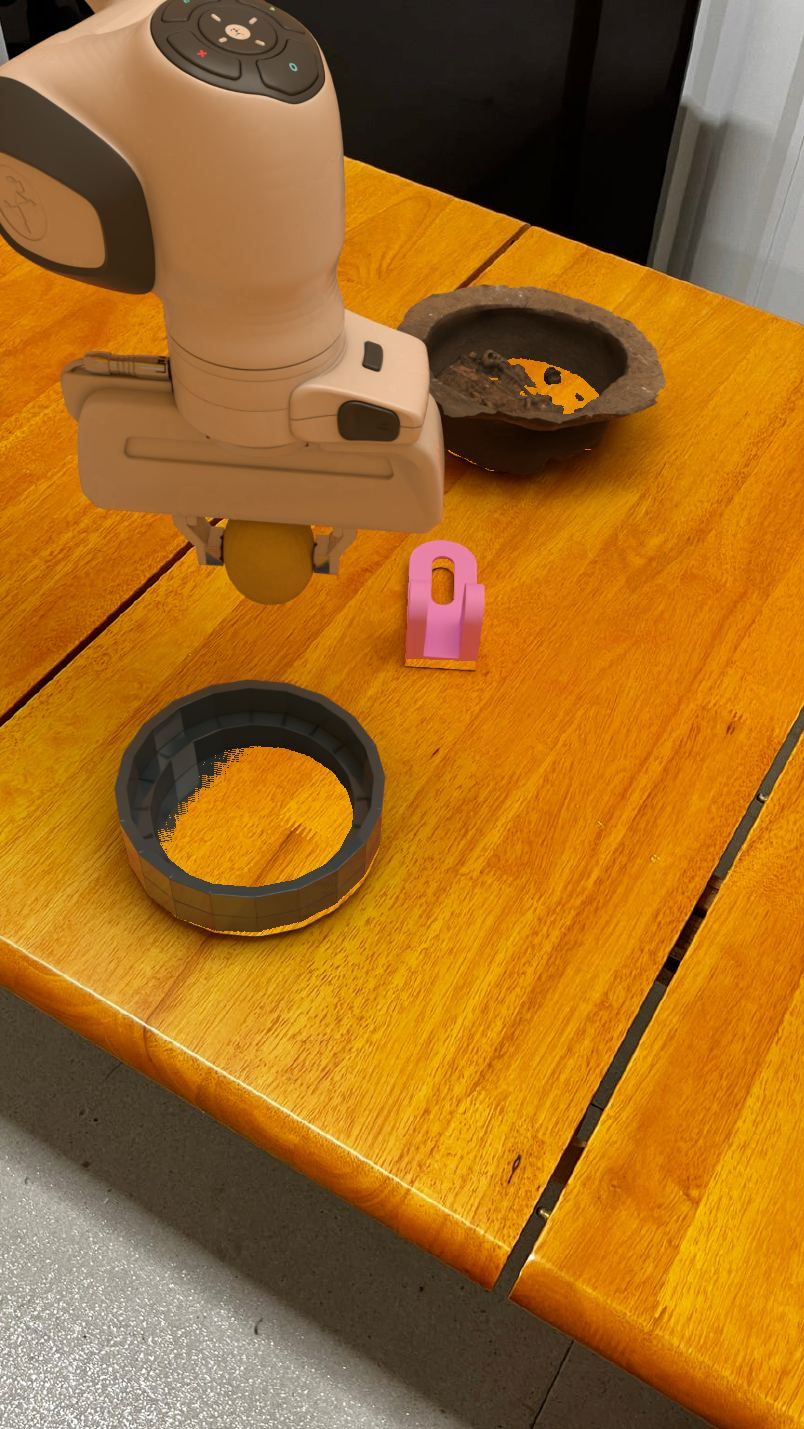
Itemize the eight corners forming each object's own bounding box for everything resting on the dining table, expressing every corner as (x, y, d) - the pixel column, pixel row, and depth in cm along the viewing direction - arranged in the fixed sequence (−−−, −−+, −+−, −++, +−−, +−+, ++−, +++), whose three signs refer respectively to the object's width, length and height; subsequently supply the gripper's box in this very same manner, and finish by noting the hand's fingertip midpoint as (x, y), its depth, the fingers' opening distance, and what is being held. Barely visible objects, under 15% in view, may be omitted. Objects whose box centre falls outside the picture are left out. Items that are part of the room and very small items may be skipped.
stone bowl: (456, 531, 105) (461, 439, 97) (350, 377, 119) (347, 286, 111) (702, 467, 112) (724, 376, 104) (574, 328, 126) (585, 240, 118)
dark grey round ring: (104, 931, 80) (89, 884, 76) (153, 722, 91) (143, 669, 86) (370, 952, 81) (373, 907, 76) (389, 742, 91) (393, 691, 86)
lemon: (311, 564, 78) (308, 465, 72) (321, 627, 75) (320, 530, 69) (224, 570, 77) (213, 471, 71) (231, 635, 74) (220, 537, 68)
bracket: (475, 671, 96) (484, 609, 90) (404, 666, 96) (409, 604, 90) (475, 554, 104) (483, 491, 98) (409, 550, 103) (414, 486, 98)
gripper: (39, 387, 60) (86, 587, 72) (452, 421, 61) (434, 613, 72) (66, 312, 64) (107, 513, 75) (456, 345, 65) (438, 539, 76)
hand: (270, 563), depth 74 cm, fingers closed on lemon, 5 cm apart
